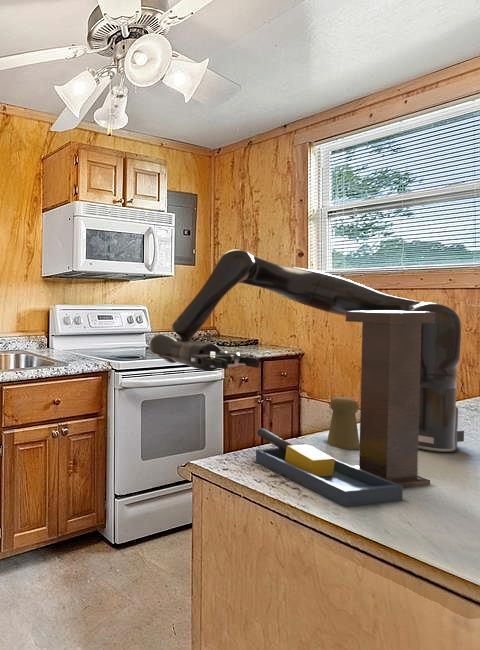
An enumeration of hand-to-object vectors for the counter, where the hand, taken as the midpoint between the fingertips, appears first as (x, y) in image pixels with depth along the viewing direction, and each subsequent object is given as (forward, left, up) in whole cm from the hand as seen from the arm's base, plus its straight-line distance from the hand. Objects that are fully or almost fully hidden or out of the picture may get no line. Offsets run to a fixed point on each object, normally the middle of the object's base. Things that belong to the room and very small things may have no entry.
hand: (242, 363), depth 101 cm
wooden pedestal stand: (-12, +23, -19) cm, 32 cm away
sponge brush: (0, +13, -17) cm, 22 cm away
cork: (-22, +6, -19) cm, 30 cm away
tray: (0, +21, -19) cm, 28 cm away
